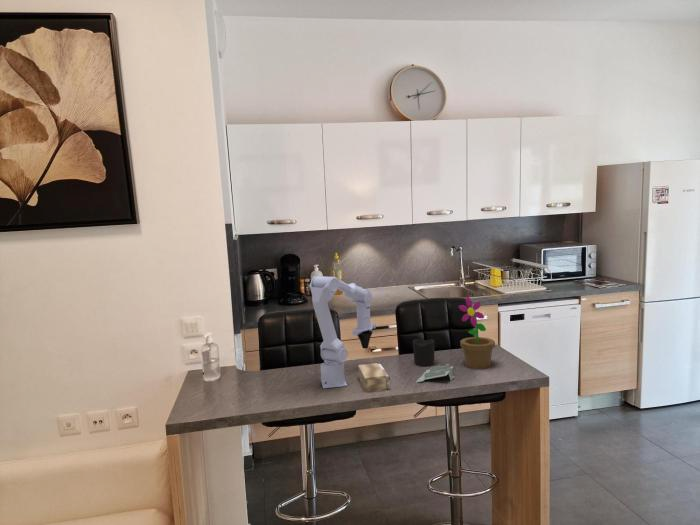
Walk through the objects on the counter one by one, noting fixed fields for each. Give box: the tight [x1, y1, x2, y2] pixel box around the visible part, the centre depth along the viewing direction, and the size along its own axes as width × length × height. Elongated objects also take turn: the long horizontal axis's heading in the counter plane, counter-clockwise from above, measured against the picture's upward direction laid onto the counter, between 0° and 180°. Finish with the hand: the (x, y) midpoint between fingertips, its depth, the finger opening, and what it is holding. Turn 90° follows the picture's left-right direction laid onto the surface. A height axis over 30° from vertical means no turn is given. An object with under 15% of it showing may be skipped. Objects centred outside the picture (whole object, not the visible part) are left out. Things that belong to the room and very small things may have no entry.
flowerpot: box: [458, 296, 496, 369], centre depth 205 cm, size 14×14×30 cm
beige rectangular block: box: [357, 362, 391, 393], centre depth 191 cm, size 10×16×6 cm, turn 9°
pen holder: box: [412, 338, 435, 367], centre depth 212 cm, size 9×9×10 cm
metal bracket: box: [415, 363, 455, 383], centre depth 194 cm, size 14×6×15 cm
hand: (365, 348), depth 208 cm, fingers closed
